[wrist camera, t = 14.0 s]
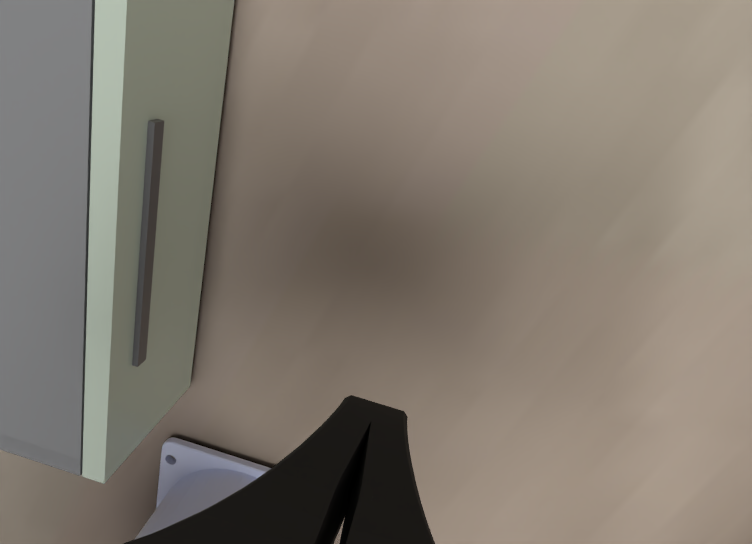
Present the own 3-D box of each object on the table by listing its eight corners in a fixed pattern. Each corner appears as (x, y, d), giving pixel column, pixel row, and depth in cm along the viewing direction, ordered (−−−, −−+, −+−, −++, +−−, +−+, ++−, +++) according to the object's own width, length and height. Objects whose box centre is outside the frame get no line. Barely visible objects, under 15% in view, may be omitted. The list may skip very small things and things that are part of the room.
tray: (194, 387, 25) (109, 485, 19) (-39, 315, 26) (-183, 388, 20) (242, -21, 18) (137, -48, 13) (-69, -97, 19) (-290, -153, 14)
